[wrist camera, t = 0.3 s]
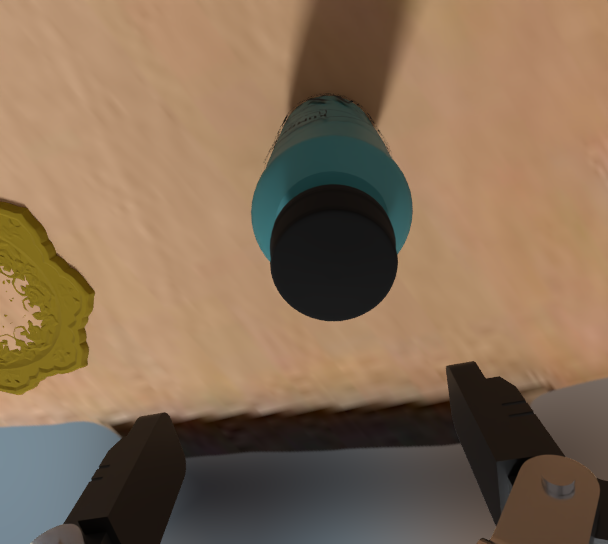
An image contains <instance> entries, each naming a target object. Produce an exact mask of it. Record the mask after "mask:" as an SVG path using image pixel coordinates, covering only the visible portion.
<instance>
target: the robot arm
mask: <svg viewBox="0 0 608 544" xmlns="http://www.w3.org/2000/svg"><path fill="white" fill-rule="evenodd" d="M446 374H447V382H448V389H449V397H450V405H451V412H452V418H453V422H454V426H455V429H456V433H457V435H458V438H459V440H460V443H461V445H462V447H463V450H464V452H465V454H466V457H467V459H468V461H469V464H470V466H471V469H472V471H473V473H474V476H475V478H476V480H477V483H478V485H479V487H480V490H481V492H482V495H483V497H484V499H485V501H486V504H487V506H488V509H489V511H490V513H491V516H492V518H493V521H494V523H495V524H496V529H495V531H494V533H493V535H492V537H491V539H490V540H487V539H484V538H481V539H480V540H479V541H478V542H477V544H608V481H604V480H600V479H598V478H596V477H595V476H594V474H593V473H591V471H590V470H589V469H588V468H586V467H585V466H584V465H582V464H580V463H579V462H577V461H574V460H572V459H570V458H567V457H565V455H564V454H563V453H562V451H561V450H560V448H559V447H558V446H557V444H556V443H555V442H554V440H553V438H552V437H551V436H550V434H549V433H548V432H547V430H546V429H545V427H544V426H543V424H542V423H541V422H540V420H539V419H538V417H537V416H536V415H535V414H534V413H533V410H532V409H531V407H530V406H529V405H528V403H526V401H525V399H524V398H523V396H522V395H521V393H520V392H519V390H518V389H517V388H516V386H514V385H512V384H511V383H509V382H508V381H506V380H504V379H503V378H501V377H500V376H499V377H493V378H487V379H486V378H485V377H484V375H483V374H482V372H481V370H480V369H479V367H478V365H477V364H476V362H474V361H472V362H466V363H460V364H454V365H448V366H446ZM185 472H186V460H185V455H184V452H183V449H182V447H181V444H180V441H179V439H178V436H177V434H176V431H175V428H174V426H173V423H172V421H171V418H170V416H169V415H168V414H167V413H158V414H153V415H147V416H141V417H139V418H138V419H137V420H136V422H135V424H134V425H133V427H132V429H131V430H130V432H129V434H128V435H127V437H123V438H122V439H121V440H120V441H119V442H117V443H116V444H115V445H114V446H113V447H112V448H111V449H110V450H109V451H108V453H107V454H106V456H105V458H104V459H103V461H102V462H101V464H100V466H99V469H97V470H96V472H95V474H94V476H93V477H92V481H91V482H89V483H88V485H87V487H86V488H85V490H84V491H83V493H82V495H81V496H80V498H79V500H78V501H77V503H76V504H75V506H74V508H73V509H72V511H71V513H70V514H69V516H68V517H67V519H66V521H65V522H64V524H63V525H59V526H56V527H54V528H52V529H50V530H48V531H46V532H44V533H43V534H41V535H40V536H39V537H37V538H36V539H35V540H34V541H32V542H31V543H30V544H160V542H161V540H162V537H163V534H164V531H165V529H166V526H167V523H168V521H169V518H170V515H171V512H172V509H173V507H174V504H175V501H176V499H177V496H178V493H179V490H180V488H181V485H182V482H183V480H184V477H185Z"/></svg>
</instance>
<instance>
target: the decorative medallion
mask: <svg viewBox="0 0 608 544" xmlns="http://www.w3.org/2000/svg"><path fill="white" fill-rule="evenodd" d="M0 266H4V268H3V269H4V270H5V271H8V272H10V271H11V268H12V270H13V272H14V274H13V275H11V276H9V275H6V274H5V273H3V272H2V270H1V268H0V273H2V274H4V275H6V276H7V277H9V278H13V281H12V284H13V286H14V282H15V279H16V278H19V279H21V280H24V281H25V277H26V280H27V281H28V283H29V285H26V288H25V287H23V286H21V288H22V291H25V294H22V293H20V292H19V291H17V290H16V288H15V286H14V288H15V290H16V291H17V292H18V293H19V294H20V295H21V296H27V295H28V296H27V297H26V298H25V299H23V300H22V303H23V306H24V308H25V305H24V301H25V300H27V299H29V301H30V303H28V304H29V305H30V306H31V307H32V308H33V306H34V305H37V306H39V307H40V311H41V312H35V313H34V314H32V315H33V316H34V317H35V318H36V319H37V320H43V321H42V323H41V326H42V327H41V329H40V327H39V326H33V323H32V322H31V321H30V320H29V321H28V323H29V328H28V331H29V332H30V335H29V333H28V332H27V330H26V329H25V327H24V326H19V327H16V328H20V327H22V328H23V329H24V330H25V331H23V332H20V333H21V335H26V337H27V338H28V339H30V340H32V341H34V342H35V343H34V342H28V343H27V344H28V345H26V344H25V341H22V340H19V339H16V338H15V335H14V337H12V336H10V335H8V334H5V335H8V336H10V337H12V338H14V339H15V340H16V345H17V346H21V350H20V351H19V350H18V349H15V350H11V351H9V348H8V346H4V349H3V345H2V344H4V345H7V340H2V341H3V342H0V391H3V392H7V393H12V394H16V395H22V394H24V393H25V392H26V391H28V390H31V389H33V388H35V387H37V386H38V384H39V382H40V381H42V380H44V379H45V378H46V377H48V376H53V375H56V374H58V373H59V374H64V373H69V372H72V371H74V370H77V369H79V368H82V367H85V366H87V365H88V362H87V358H88V354H89V347H88V345H87V343H86V338H87V337H86V331H85V329H84V327H85V325H86V324H87V322H88V316H89V315H90V313H91V312H92V310H93V304H94V295H95V291H94V290H93V289H92V288H91V287H90V286H89V285H88V283H87V281H86V280H85V279H84V278H83V276H82V275H81V274H80V273H79V272H77V271H76V270H75V269H73V268H70V266H69V265H68V264H67V262H66V261H65V260H64V259H62V258H60V257H59V256H57V254H56V250H55V248H54V246H53V244H52V243H51V242H50V240H49V239H48V236H47V233H46V230H45V229H44V227H43V226H42V225H41V224H40V223H39V222H38V221H37V220H36V219H35V218H34V216H33V215H32V214H31V212H30V211H29V210H28V208H25V207H18V206H16V205H13V204H10V203H6V202H0ZM24 275H25V277H24ZM7 282H8V283H9V284H10V280H7ZM3 284H5V281H3ZM6 292H7V291H6ZM28 297H29V298H28ZM12 299H14V298H12ZM9 300H10V299H9ZM10 301H11V302H12V301H13V300H10ZM25 310H27V309H26V308H25ZM27 311H28V310H27ZM4 316H7V315H4ZM24 316H25V315H24ZM10 324H11V323H10ZM3 327H4V326H3ZM14 331H15V329H14ZM36 332H37V333H36ZM13 334H14V332H13ZM5 335H2V336H5ZM0 337H1V336H0Z"/></svg>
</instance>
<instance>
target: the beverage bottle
mask: <svg viewBox="0 0 608 544" xmlns="http://www.w3.org/2000/svg"><path fill="white" fill-rule="evenodd" d="M325 94H331V93H325ZM325 94H324V95H322V96H320V97H316V98H310V99H308V100H306V102H304V103H303V104H301V105H299V106H298V107H296V109H295V110H294V111H293V112H292V113H291V114H290V116H289V117H288V119H287V120H286V118H287V116H288V115H287V116H286V117H285V119H284V122H285V121H286V122H285V124H284V127H283V126H282V127H283V129H282V131H280V132H281V134H279V135H280V136H279V135H278V137H279V138H277V139H278V140H276V142H277V143H276V142H274V143H275V144H276V145H275V146H274V147H273V145H274V144H272V147H273V148H274V150H273V152H272V154H271V157H270V159H269V161H268V163H267V166H266V169H265V170H264V172H263V173H262V175H261V177H260V179H259V181H258V183H257V186H256V189H255V192H254V196H253V200H252V209H251V217H252V226H253V231H254V234H255V237H256V240H257V242H258V244H259V247H260V249H261V250H262V252H263V253H264V255H265V256H266V258H267V259H268V260H269V261H270V266H271V274H272V278H273V281H274V284H275V286H276V288H277V290H278V291H279V293H280V294H281V296H282V297H283V299H284V300H285V301H286V302H287V303H288V304H289V305H290V306H292V307H293V308H294V309H296V310H297V311H299V312H300V313H302V314H304V315H306V316H309V317H311V318H315V319H319V320H324V321H343V320H348V319H352V318H356V317H358V316H360V315H363V314H365V313H366V312H368V311H370V310H371V309H373V308H374V307H376V306H377V305H378V304H379V303H380V302H381V301H382V300H383V299H384V298H385V297H386V295H387V294H388V292H389V291H390V289H391V287H392V285H393V282H394V280H395V277H396V273H397V266H398V257H397V254H398V253H399V251H400V250H401V248H402V247H403V245H404V243H405V241H406V239H407V236H408V233H409V231H410V226H411V222H412V213H413V210H412V198H411V192H410V189H409V186H408V183H407V181H406V179H405V177H404V174H403V173H402V171H401V170H400V168H399V167H398V165H397V164H396V163H395V162H394V160H393V159H392V158H391V156H390V154H389V152H390V151H391V150H390V151H389V152H388V150H389V149H388V148H386V146H385V144H384V142H383V141H382V139H381V137H380V136H379V134H380V133H379V134H378V133H377V132H378V131H380V130H379V129H378V131H376V130H375V127H373V125H372V123H371V121H372V120H369V117H367V116H366V114H365V113H364V112H363V111H362V110H361V109H360V108H359V107H358V106H357V105H359V103H358V104H357V105H356V104H354V103H352V102H355V101H352V100H351V101H349V100H350V99H349V100H347V99H344V98H341V97H340V96H341V95H339V94H338V95H339V96H336V95H334V94H332V95H333V96H326V95H325ZM318 95H319V94H318ZM318 95H317V96H318ZM314 96H315V95H314ZM342 96H343V95H342ZM311 97H312V96H311ZM304 101H305V100H304ZM298 104H300V103H298ZM360 106H361V105H360ZM361 107H362V106H361ZM291 110H292V109H291ZM364 110H365V109H364ZM288 114H289V113H288ZM368 115H369V114H368ZM369 116H370V115H369ZM370 119H372V118H371V117H370ZM284 122H283V123H284ZM372 122H373V121H372ZM373 124H374V122H373ZM282 125H283V124H282ZM279 130H280V129H279ZM278 133H279V131H278ZM385 143H386V142H385ZM386 145H387V144H386ZM273 148H272V149H273ZM270 150H271V149H270ZM269 153H270V152H269ZM269 153H268V154H269ZM267 156H268V155H267ZM266 158H267V157H266ZM265 160H267V159H265ZM264 162H265V161H264ZM265 164H266V163H265ZM264 168H265V167H264ZM261 171H262V170H261Z"/></svg>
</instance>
